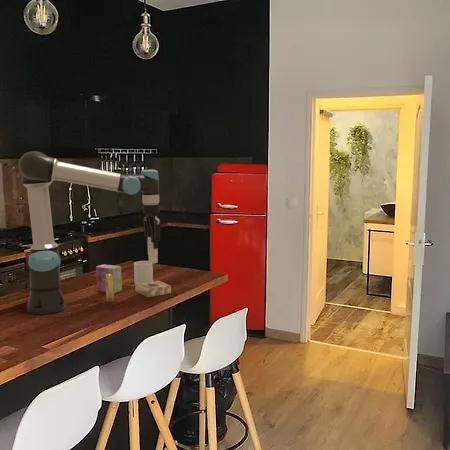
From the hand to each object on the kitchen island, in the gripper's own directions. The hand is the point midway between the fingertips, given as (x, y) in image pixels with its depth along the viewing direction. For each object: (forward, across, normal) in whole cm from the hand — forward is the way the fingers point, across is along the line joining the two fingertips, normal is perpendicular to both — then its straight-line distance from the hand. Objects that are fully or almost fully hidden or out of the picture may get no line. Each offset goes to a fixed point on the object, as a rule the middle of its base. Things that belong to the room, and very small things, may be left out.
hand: (152, 255), depth 243 cm
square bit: (+4, 0, 0) cm, 4 cm away
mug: (+18, +16, -4) cm, 24 cm away
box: (+18, +15, +15) cm, 28 cm away
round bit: (+17, -2, +22) cm, 28 cm away
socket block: (+18, 0, 0) cm, 18 cm away
